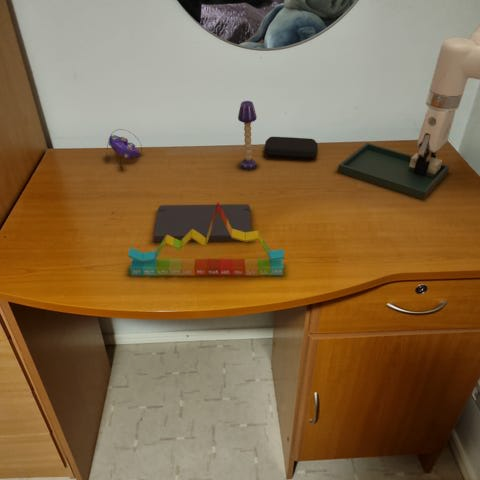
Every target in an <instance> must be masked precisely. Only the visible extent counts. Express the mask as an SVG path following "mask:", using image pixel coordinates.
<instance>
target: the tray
mask: <svg viewBox="0 0 480 480" xmlns="http://www.w3.org/2000/svg"><path fill="white" fill-rule="evenodd" d="M413 156H414V155H411V154H408V153H404V152H400V151H397V150H394V149H390V148H387V147H383V146H380V145H376V144H374V143H369V142H366V143H364V145H362V146H361V147H359V148H358V149H357V150H356V151H354V152H353V153H352V154H351V155H349V156H348V157H347V158H346V159H344V160H343V161H342V162H341V163H339V164H338V166H337V167H338V168H337V173H339V174H342V175H345V176H348V177H352V178H354V179H358V180H361V181H363V182H367V183H370V184H373V185H376V186H380V187H383V188H385V189H388V190H391V191H395V192H398V193H401V194H404V195H407V196H410V197H413V198H416V199H419V200H423V201H424V200H425V199H426V198H427V197H428V195H430V193H431V192H432V191H433V190H434V189H435V188H436V187H437V186H438V185H439V183H440V182H441V181H442V180H443V179H444V178H445V177H446V176H447V175H448V174H449V171H450V166H449V165H446V164H443V163H442V164H441V167H440V170H439V173H438V174H437V175H436V176H435V177H434V178H432V177H429V176H426V175H425V176H421V175H418V174H415V173H414V172H413V171H409V170H408V168H409V165H410V161H411V158H412V157H413Z"/></svg>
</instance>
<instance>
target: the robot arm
mask: <svg viewBox="0 0 480 480" xmlns="http://www.w3.org/2000/svg"><path fill="white" fill-rule="evenodd" d="M468 79H474V80H479V81H480V23H479V24H478V25H477V26H476V28H475V29H474V31H473V32H472V33H471V34H470V36H469V38H465V37H450V38H447V39H445V40H444V41H443V42H442V45H441V47H440V49H439V52H438V57H437V59H436V64H435V67H434V71H433V75H432V79H431V82H430V86H429V90H428V93H427V97H426V101H425V105H426V106H427V107H428V108H427V110H426V112H425V115H424V119H423V121H422V125H421V127H420V132H419V136H418V140H417V145H416V147H417V148H418V149H419V150H418V152H417V153H418V158H417V161H416V165H415V168H414V173H415V174H418V175H421V176H425V175H426V173H427V170H428V167H429V163H430V161H429V159H430V157H433V158H437V154H438V151H439V150H440V149H441V148H442V147H443V146H444V145H445V144H446V143H447V141H448V140H449V137H450V134H451V130H452V126H453V122H454V119H455V114H456V110H458V109H459V108H460V104H461V101H462V98H463V95H464V91H465V89H466V86H467V83H468V81H469V80H468Z"/></svg>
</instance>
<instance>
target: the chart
mask: <svg viewBox="0 0 480 480" xmlns="http://www.w3.org/2000/svg"><path fill="white" fill-rule="evenodd" d="M215 205H216V209H215V212H214V215H213V218H212V221H211V225H210V228H209V231H208V234H207V238H205V237H204V236H203V235H201V234H200V233H198V232H197V231H195V230H194V229H193V230H191V231H190V232H189V233H188V234H187V235H186V236H185V237H184V238H183V239H182V240H181V241H180V240H178V239H174V238H173V237H171V236H169V235H166V236H165V238H164V240H163V241H162V242H160V244H159V246H158V247H157V249H155V250H152V251H147V252H143V251H140V250H138V249H135V248H133V247H129V250H128V254H127V257H128V258H130V259H131V262H130V267H129V270H130V275H131V276H283V275H284V259H285V251H284V249H283V248H282V249H273V250H271V249H270V248H269V247H268V245H267V243H266V241H265V240H264V237H262V235H261V233H260V231H259V230H252V231H251V232H242V231H238V230H235V229H232V228H231V226H230V224H229V222H228V220H227V218H226V216H225V214H224V212H223V210H222V209H221V207H220V205H221V204H220V203H219V202H218V201H217V202H216V204H215ZM217 206H218V213H219V215H220V216H221V218H222V220H223V222H224V224H225V226H226V228H227V230H228V232H229V233H230V235H231V237H232V238H234V239H237V240H241V241H240V242H244V243H248V242H254V241H258V242H259V244H260V245H261V246H262V248H263V251H264V252H265V253H266V255H267V256H268V258H158V256H159V255H160V253H161V252H162V250H163V249H164V247H165V246H166V245H167V246H169V247H172V248H174V249H176V250H178V251H180V250H181V249H182V248H184V247H185V245H187V244H188V243H189V242H188V241H189V240H190V239H191V238H192V239H194V240H195V241H197V243H199V244H200V245H201V246H202V247H204V248H206V247H207V245H208V242H209V241H208V239H209V236H210V232H211V229H212V226H213V223H214V220H215V216H216V213H217Z"/></svg>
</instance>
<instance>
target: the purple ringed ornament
mask: <svg viewBox="0 0 480 480" xmlns="http://www.w3.org/2000/svg"><path fill="white" fill-rule="evenodd" d="M116 131H126V132H128V133H130V134H132V135H133V136H134V137H135V138H136V139H137V140H138V142H139V143H140V146H141V148H140V149H141V151H139V150H137V149H135V148H136V144H134V143H133V142H129V140H128V138H127V137H125V136H118V135H116V134H113V133H111V134H110V135H109V138H108V141H107V143H108V144H107V145H106V147H107V148H106V149H108V146H110V148H111V149H112V150H113V152H114V157H117V156H116V154H117V155H121V157H120V159H123V158H125V159H131V158H132V159H137V158H140V157H141V154H142V151H143V147H142V143H141V141H140V140H139V138H138V137H137V136H136V135H135V134H134V133H132V132H131V131H129V130H126V129H121V128H117V129H116V130H114V132H116ZM105 160H106V161H108V160H109V157H108V153H106V156H105ZM116 160H117V162H118V165H119V167H120V169H121V170H123V165H122V164H121V163H119V161H118V159H116Z"/></svg>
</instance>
